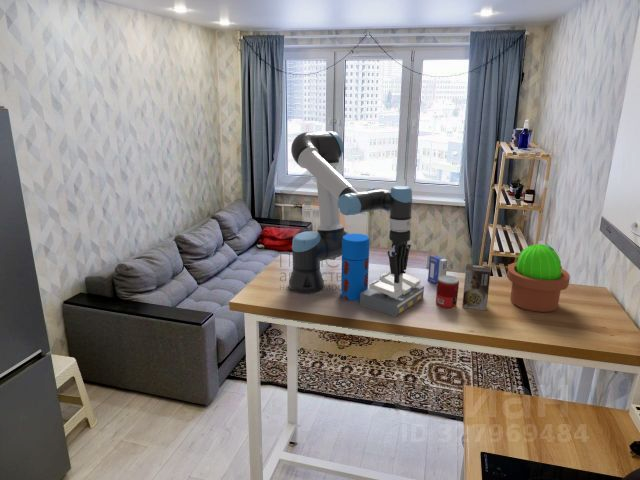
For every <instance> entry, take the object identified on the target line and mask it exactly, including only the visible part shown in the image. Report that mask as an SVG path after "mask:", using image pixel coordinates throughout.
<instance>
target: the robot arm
mask: <svg viewBox="0 0 640 480" xmlns="http://www.w3.org/2000/svg"><path fill="white" fill-rule="evenodd" d="M290 149H291V156H292V158H293V160H294V161H295V163H296V164H297V165H298V166H299V167H300V168H302V169H306V170H307V171H308V173H310V175H312V177H314V178H315V179H316V189H317V200H318V201H317V202H318V210H319V211H318V212H319V222H320V224H319V226H318V227H317V230H316V231H314V230H311V231H310V230H309V231H307V230H306V231H301V232H300V233H297V234H295V235H294V236H293V238H292V245H291V249H292V271H291V274H290V278H289V280H288V288H289V290H291V291H293V292H295V293H299V294H313V293H318V292H320V291H322V290H324V288H325V280H324V278H323V275H322V272H321V262H322V261H326V260H330V259H334V258H339V257H342V239H343V236H344V235H347V234H349V231H347V229H345V226H344V225H343V224H342V223H341V220H340V219H341V216H340V213H341V214H342V215H343V216H344V215H345V216H355V215H358V214H363V213H369V212H372V211H373V212H374V211H379V210H381V211H385V212H386V211H387V212H389V236H388V237H389V241H391V249H390V250H387V253H386V254H387V256H388V260H389V261H388V262H389V270H390V271H391V274H394V290H397V291H402V280H403V273H404V274H407V272H406V271H407V266H408V261H409V255H410V250H411V247H412V245H411V244H410V243H408V242H410V240H411V233H412V232H411V225H412V207H413V206H412V205H413V190H412V187H410V186H406V185H394V186H392V187H391V188H390V189H385V188H381V187H370V188H368V189H367V190H364V191H358V190H357V189H356V188H355V187H354V186H353V185H352V184H351V183H350V182H349V181H348V180H347V179H346V178H344V176H343V175H341V174H340V173H339V172H338V171H337V166H338V165H339V164H340V158H341V157H342V156H343V153H344V152H345V151H344V149H345V147H344V141H343V139H342V137H341V135H339V134H338V133H337V132H335V131H331V130H323V131H312V132H311V131H308V132H302V133H300V134H298V135H296V136H295V138H294V139H293V141H292V143H291V147H290ZM390 271H389V272H390Z"/></svg>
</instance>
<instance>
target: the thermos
mask: <svg viewBox="0 0 640 480" xmlns="http://www.w3.org/2000/svg"><path fill="white" fill-rule="evenodd" d="M370 242H371V241H370V237H369V236H368V235H367V234H364V233H348V234H347V235H344V236H343V239H342V255H341V279H340V281H341V282H340V283H341V285H340V286H341V287H340V288H341V289H340V290H341V297H342V298H344V299H345V300H349V301H354V302H355V301H360V293H361V292H363V291H365V290H367V289H369V265H370V263H369V261H370Z"/></svg>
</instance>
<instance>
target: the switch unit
mask: <svg viewBox="0 0 640 480" xmlns="http://www.w3.org/2000/svg"><path fill="white" fill-rule="evenodd" d="M380 282H382V281H380ZM383 283H384V282H383ZM424 291H425V286H424V285H421V284H419V285H418V286H416V287H415V288H413V287H411V290H410V292H408V293H406V294H405V295H404V294H402V295H400V296H399V297H397V298H394V297H392V296H389V295H386V294H384V293H381V292H378V291H376V290H373V289H370V288H369V287H368V289H367V290H365V291H363V292H361V293H360V300H359V305H360V306H362V307H366V308H368V309H371V310H374V311H377V312H380V313H382V314H383V313H384V314H385V315H389V316H392V317H394V318H395V317H397V316H398V315H400V314H401V313H403V312H404V311H405V310H407V309H409V308H410V307H412V306H414V305H415V304H416V303H417V302H419V301H420V300H422V299H423V298H424Z"/></svg>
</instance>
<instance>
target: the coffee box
mask: <svg viewBox="0 0 640 480" xmlns="http://www.w3.org/2000/svg"><path fill="white" fill-rule="evenodd" d="M491 271H492V270H491V266H489V265H479V264H478V265H477V264H470V263H469V264H467V263H466V266H465V271H464V273H465V275H464V284H463V294H462V295H463V297H462V306H461V308H463V309H471V310H479V311H487V310H488V308H487V306H488V297H489V290H490V289H489V288H490V279H491Z"/></svg>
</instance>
